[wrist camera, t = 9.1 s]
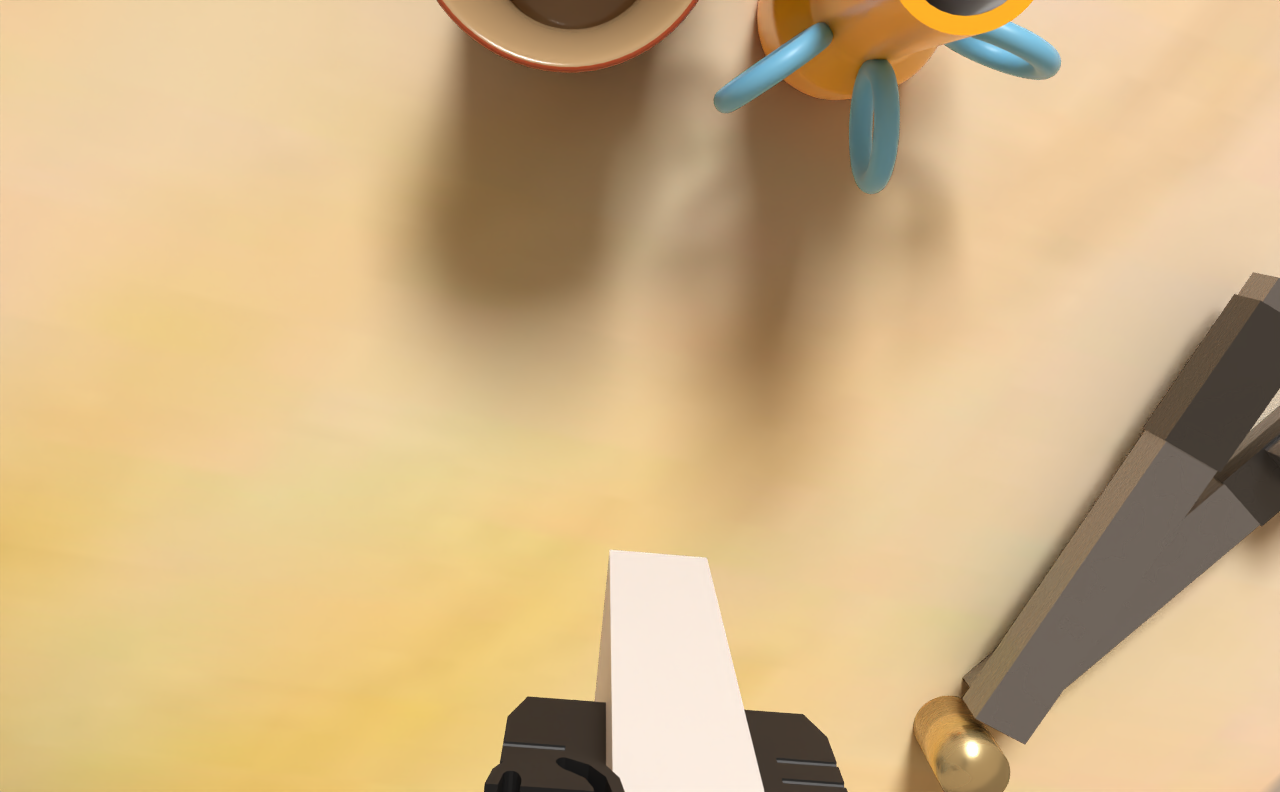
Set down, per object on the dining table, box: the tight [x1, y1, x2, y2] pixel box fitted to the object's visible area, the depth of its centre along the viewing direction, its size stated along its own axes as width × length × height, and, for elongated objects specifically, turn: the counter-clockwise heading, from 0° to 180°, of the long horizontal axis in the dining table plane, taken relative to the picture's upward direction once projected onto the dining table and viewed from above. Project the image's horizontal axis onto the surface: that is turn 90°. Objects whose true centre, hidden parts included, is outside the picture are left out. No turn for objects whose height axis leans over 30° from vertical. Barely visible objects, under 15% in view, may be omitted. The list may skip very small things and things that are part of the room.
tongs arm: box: [962, 273, 1280, 744], centre depth 42 cm, size 20×3×2 cm, turn 151°
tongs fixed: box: [914, 406, 1280, 792], centre depth 43 cm, size 23×3×4 cm, turn 134°
